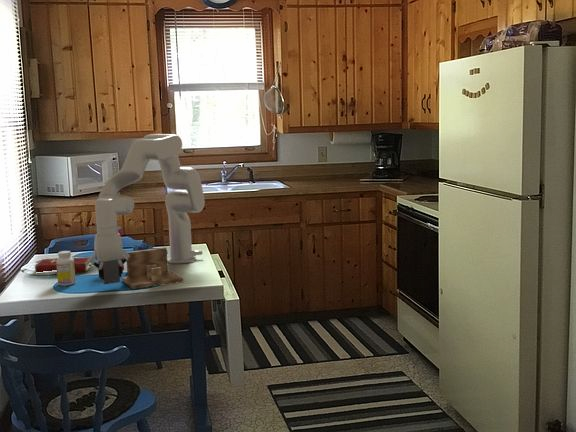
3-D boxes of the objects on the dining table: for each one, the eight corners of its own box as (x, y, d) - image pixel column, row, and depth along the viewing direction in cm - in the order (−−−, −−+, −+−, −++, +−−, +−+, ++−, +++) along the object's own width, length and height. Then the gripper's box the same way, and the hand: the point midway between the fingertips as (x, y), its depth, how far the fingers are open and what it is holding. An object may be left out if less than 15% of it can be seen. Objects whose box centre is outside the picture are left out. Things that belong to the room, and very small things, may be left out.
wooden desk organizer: (170, 274, 283) (169, 246, 281) (183, 281, 270) (181, 253, 268) (122, 280, 274) (120, 252, 272) (133, 289, 261) (131, 259, 259)
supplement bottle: (67, 281, 276) (65, 249, 273) (79, 282, 272) (77, 251, 270) (54, 285, 270) (51, 252, 268) (66, 286, 266) (63, 254, 264)
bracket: (118, 280, 265) (116, 257, 263) (120, 282, 263) (118, 259, 261) (102, 283, 262) (100, 260, 260) (104, 284, 260) (102, 261, 258)
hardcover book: (86, 272, 291) (85, 262, 290) (35, 274, 289) (34, 264, 289) (92, 266, 303) (91, 256, 302) (43, 268, 301) (42, 258, 300)
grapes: (157, 268, 294) (156, 240, 292) (155, 272, 287) (154, 243, 285) (130, 269, 293) (128, 241, 291) (127, 273, 287) (125, 244, 285)
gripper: (127, 226, 266) (130, 272, 269) (81, 232, 258) (85, 278, 261) (132, 229, 260) (136, 276, 263) (86, 235, 252) (90, 283, 255)
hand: (111, 277), depth 262 cm, fingers closed on bracket, 6 cm apart
